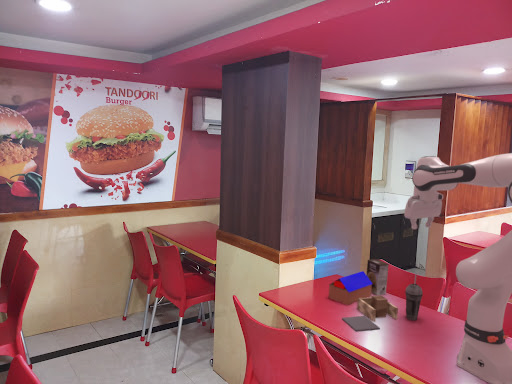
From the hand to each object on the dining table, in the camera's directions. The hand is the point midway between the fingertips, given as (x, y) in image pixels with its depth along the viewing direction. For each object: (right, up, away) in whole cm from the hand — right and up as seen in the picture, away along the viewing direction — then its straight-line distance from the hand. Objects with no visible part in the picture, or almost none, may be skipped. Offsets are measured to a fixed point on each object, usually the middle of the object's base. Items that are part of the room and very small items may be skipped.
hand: (421, 227), depth 174 cm
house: (-23, -37, +32) cm, 54 cm away
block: (-15, -40, +12) cm, 44 cm away
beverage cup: (0, -41, +10) cm, 42 cm away
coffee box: (-7, -37, +41) cm, 55 cm away
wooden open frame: (-15, -40, +14) cm, 44 cm away
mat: (-25, -41, +2) cm, 48 cm away
